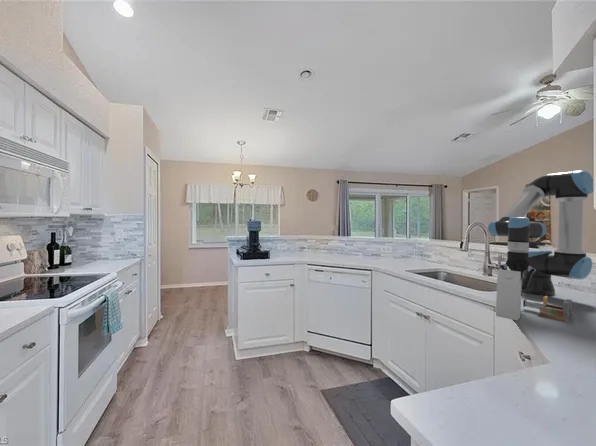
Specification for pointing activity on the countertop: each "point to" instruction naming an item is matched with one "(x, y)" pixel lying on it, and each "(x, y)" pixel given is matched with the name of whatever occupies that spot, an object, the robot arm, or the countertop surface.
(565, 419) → the countertop surface
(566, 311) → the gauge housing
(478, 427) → the countertop surface
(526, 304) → the plunger
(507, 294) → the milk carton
